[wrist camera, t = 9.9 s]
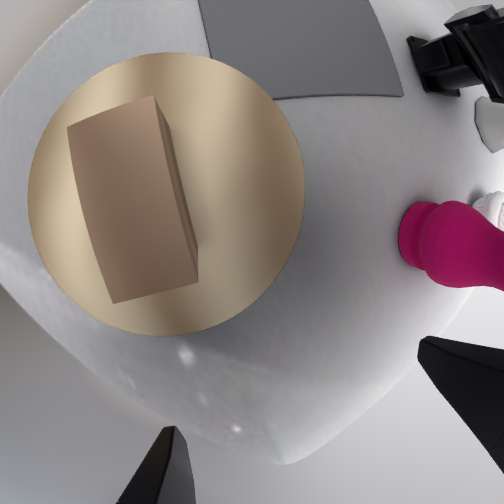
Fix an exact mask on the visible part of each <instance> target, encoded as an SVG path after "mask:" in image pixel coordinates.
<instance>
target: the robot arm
mask: <svg viewBox="0 0 504 504" xmlns="http://www.w3.org/2000/svg"><path fill="white" fill-rule="evenodd" d="M444 25H445V27H446V28H447V29H449V31H450V32H451V33H449V34H446V35H444V36H441V37H439V38H436V39H434V40H432V41H426V40H423V39H420V38H417V37H413V36H410V37H408V38H407V40H408V42H409V45H410V48H411V50H412V53H413V56H414V58H415V61H416V64H417V67H418V70H419V73H420V76H421V80H422V83H423V86H424V89H425V91H426V92H428V93H434V94H440V95H446V96H451V97H456V98H457V97H460V91H459V88H464V87H469V86H474V85H479V84H484V86H485V88H486V90H487V92H488V94H489V98H490V100H491V102H495V103H501V104H504V8H501V9H497V10H496V9H495V8H494V7H493V5H492V4H491V5H483V6H477V7H470V8H467V9H465V10H463V11H461V12H459V13H456V14H455V15H454V16H452V17H451V18H450V19H449V20H448V21H447V22H445V23H444ZM417 358H418V361H419V363H420V364H421V365H422V367H423V369H424V370H425V372H426V373H427V374H428V376H429V378H430V379H431V381H432V382H433V384H434V385H435V386H436V388H437V389H438V390H439V392H440V393H441V394H442V395H443V396H444V398H445V399H446V400H447V401H448V402H449V404H450V405H451V406H452V407H453V408H454V410H455V411H456V412H457V413H458V414H459V416H460V417H461V418H462V419H463V421H464V422H465V423H466V424H467V426H468V427H469V428H470V429H471V431H472V432H473V433H474V435H475V436H476V437H477V438H478V440H479V441H480V442H481V444H482V445H483V446H484V448H485V449H486V450H487V451H488V453H489V454H490V456H491V457H492V458H493V460H494V461H495V462H496V464H497V465H498V467H499V468H500V469H501V471H502V472H503V474H504V349H498V348H492V347H486V346H481V345H475V344H470V343H464V342H459V341H454V340H449V339H443V338H439V337H434V336H427V337H425V338H423V339H421V340H420V342H419V349H418V355H417ZM116 504H196V500H195V488H194V479H193V474H192V469H191V464H190V459H189V453H188V448H187V443H186V440H185V439H184V437H183V435H182V434H181V433H180V431H179V430H178V428H177V427H176V426H167V427H164V428H163V429H162V430H161V432H160V434H159V435H158V437H157V439H156V440H155V442H154V443H153V445H152V447H151V448H150V450H149V451H148V453H147V455H146V456H145V458H144V460H143V461H142V463H141V464H140V466H139V468H138V469H137V471H136V472H135V474H134V476H133V477H132V479H131V480H130V482H129V484H128V485H127V487H126V488H125V490H124V492H123V493H122V495H121V496H120V498H119V499H118V502H117V503H116Z"/></svg>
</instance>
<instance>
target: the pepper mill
mask: <svg viewBox="0 0 504 504" xmlns="http://www.w3.org/2000/svg"><path fill="white" fill-rule="evenodd" d="M398 239H399V248H400V251H401V255H402V256H403V258H404V260H405V261H406V262H407V263H408V264H410V265H412V266H414V267H417V268H419V269H421V270H425V271H426V273H427V275H428V276H429V277H430V279H432V280H433V281H434V282H436V283H438V284H441V285H444V286H447V287H454V288H463V287H473V286H489V287H494V288H497V289H499V290H502V291H504V231H502V230H500V229H499V228H497V227H495V226H494V225H493V224H492V223H491V222H489V221H488V220H487V219H486V218H485V217H484V216H483V215H482V214H481V213H480V212H479V211H477V210H476V209H474V208H473V207H471V206H469V205H468V204H465V203H461V202H458V201H447V202H444V203H442V204H440V205H439V204H436V203H430V202H418V203H416V204H414V205H413V206H411V207H410V208H409V210H408V211H407V212H406V214H405V215H404V217H403V219H402V222H401V225H400V230H399V237H398Z"/></svg>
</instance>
